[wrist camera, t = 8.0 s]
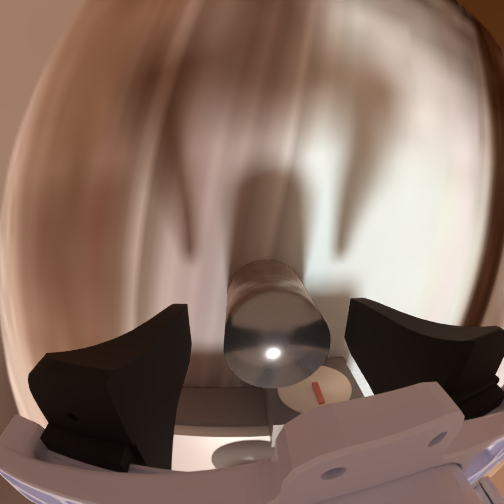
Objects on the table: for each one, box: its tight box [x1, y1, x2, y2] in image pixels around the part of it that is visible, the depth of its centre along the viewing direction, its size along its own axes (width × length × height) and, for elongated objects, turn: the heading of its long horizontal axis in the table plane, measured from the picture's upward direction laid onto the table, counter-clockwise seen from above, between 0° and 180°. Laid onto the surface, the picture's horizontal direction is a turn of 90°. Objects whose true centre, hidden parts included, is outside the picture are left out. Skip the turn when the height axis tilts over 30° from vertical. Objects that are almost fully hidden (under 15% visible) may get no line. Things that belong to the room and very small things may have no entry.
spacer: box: [224, 260, 330, 388], centre depth 12 cm, size 4×4×5 cm
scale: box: [172, 357, 364, 472], centre depth 15 cm, size 13×15×5 cm
